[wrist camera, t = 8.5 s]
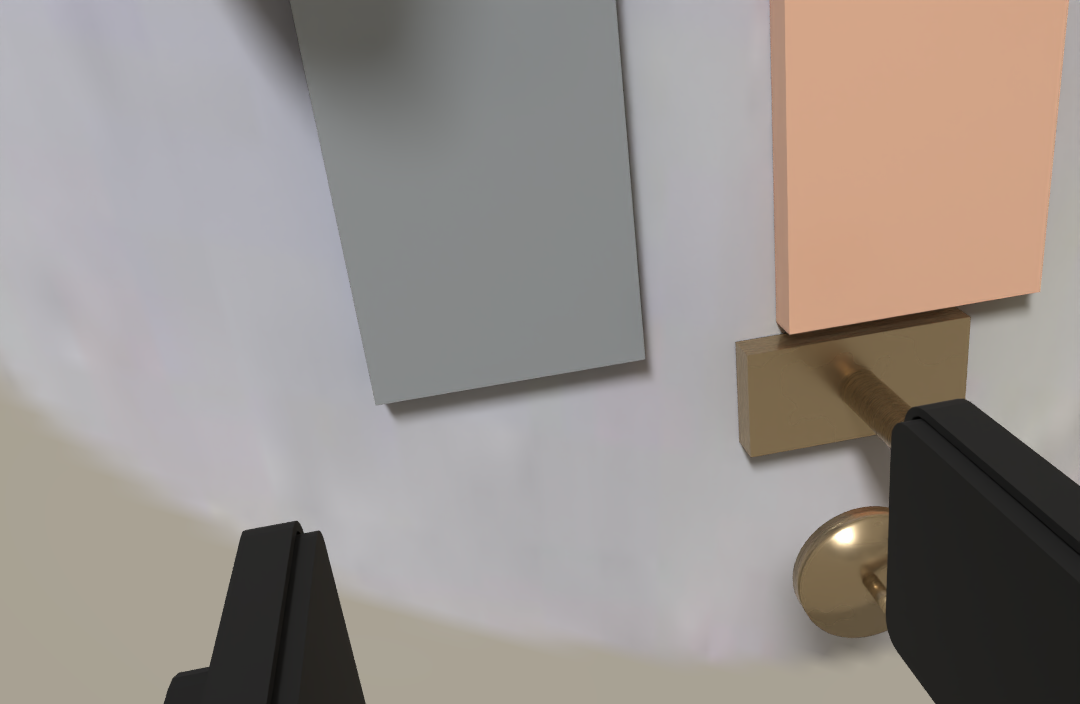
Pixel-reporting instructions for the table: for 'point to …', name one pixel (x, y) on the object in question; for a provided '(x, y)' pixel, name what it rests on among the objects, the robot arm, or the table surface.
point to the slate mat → (477, 186)
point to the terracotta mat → (910, 153)
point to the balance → (847, 435)
